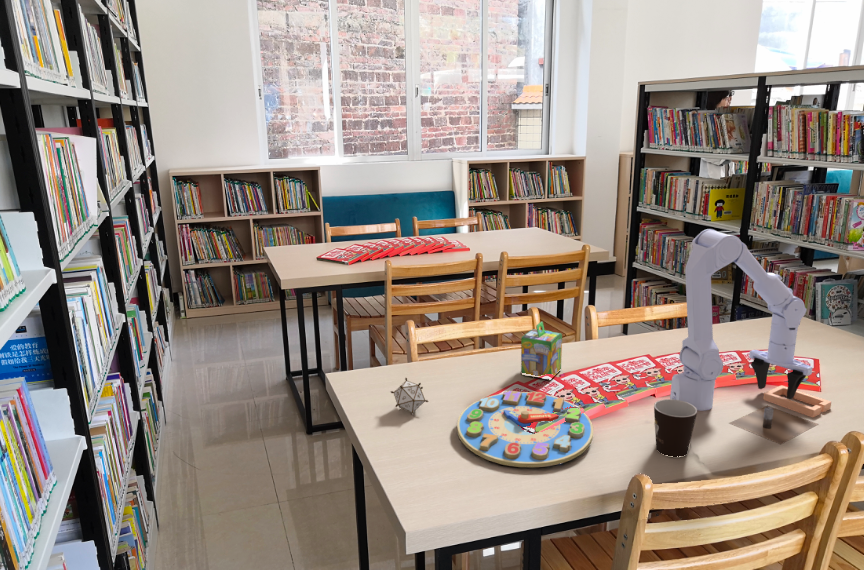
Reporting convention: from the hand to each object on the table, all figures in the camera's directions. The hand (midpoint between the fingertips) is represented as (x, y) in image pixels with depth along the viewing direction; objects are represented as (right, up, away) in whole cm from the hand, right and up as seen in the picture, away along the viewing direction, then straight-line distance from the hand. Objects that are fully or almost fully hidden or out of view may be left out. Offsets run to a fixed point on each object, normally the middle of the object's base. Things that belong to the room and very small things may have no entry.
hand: (775, 392), depth 158 cm
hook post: (-10, -5, -15) cm, 18 cm away
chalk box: (-55, +2, +21) cm, 59 cm away
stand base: (-8, -6, -13) cm, 16 cm away
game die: (-92, -5, -1) cm, 92 cm away
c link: (+3, -3, -3) cm, 6 cm away
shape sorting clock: (-65, -8, -13) cm, 67 cm away
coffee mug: (-33, -9, -20) cm, 40 cm away
